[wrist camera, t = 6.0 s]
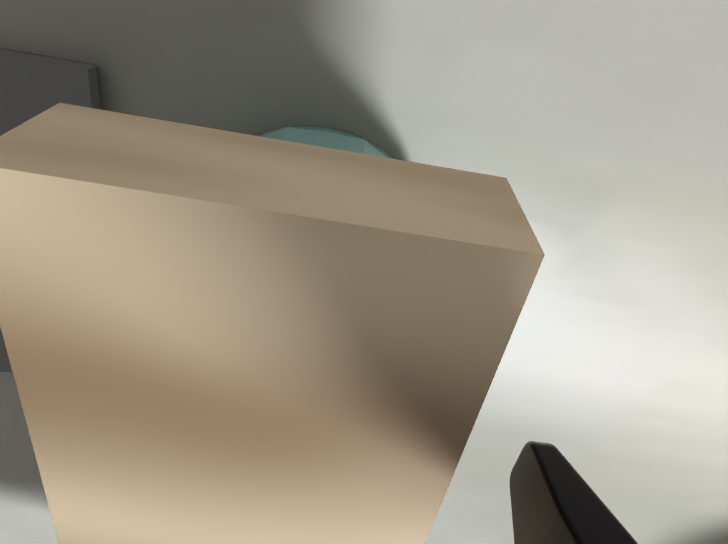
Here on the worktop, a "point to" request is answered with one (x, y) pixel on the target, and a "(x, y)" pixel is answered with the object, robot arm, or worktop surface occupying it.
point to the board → (248, 328)
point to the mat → (40, 99)
